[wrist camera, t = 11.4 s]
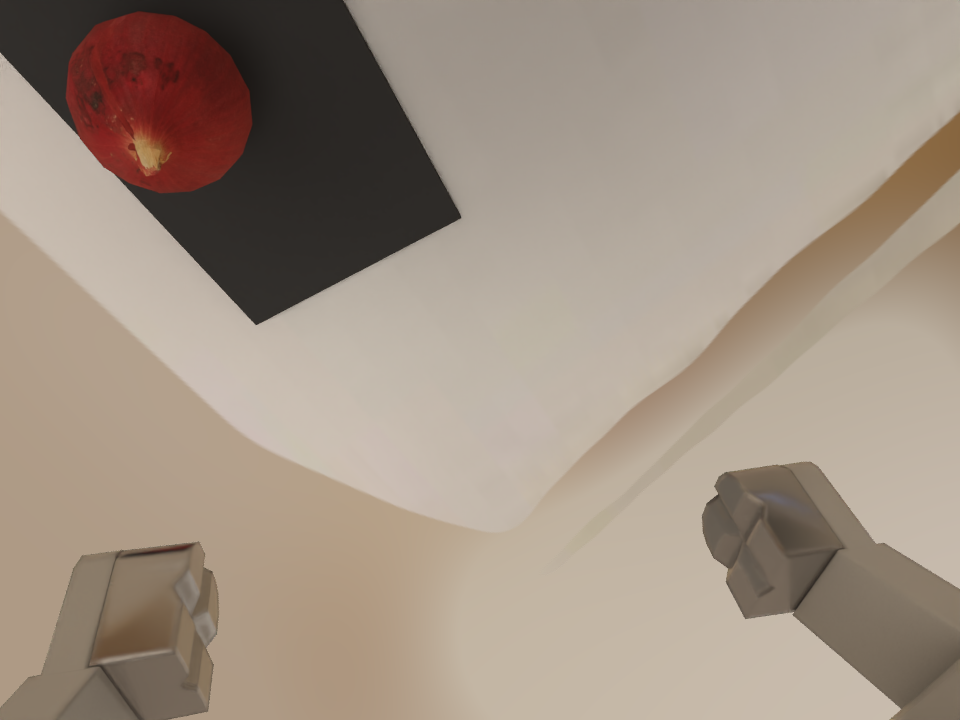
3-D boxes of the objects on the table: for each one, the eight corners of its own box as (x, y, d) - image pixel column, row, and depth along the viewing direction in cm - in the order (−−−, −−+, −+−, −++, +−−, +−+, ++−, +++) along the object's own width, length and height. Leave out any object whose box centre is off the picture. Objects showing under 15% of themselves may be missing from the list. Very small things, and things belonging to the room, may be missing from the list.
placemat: (-201, -168, 20) (-207, -168, 20) (123, -400, 18) (121, -404, 18) (256, 322, 34) (255, 325, 34) (460, 215, 33) (461, 218, 33)
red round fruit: (63, 69, 25) (-12, 154, 19) (154, -48, 23) (103, 5, 17) (198, 171, 29) (170, 270, 23) (286, 76, 27) (281, 155, 21)
